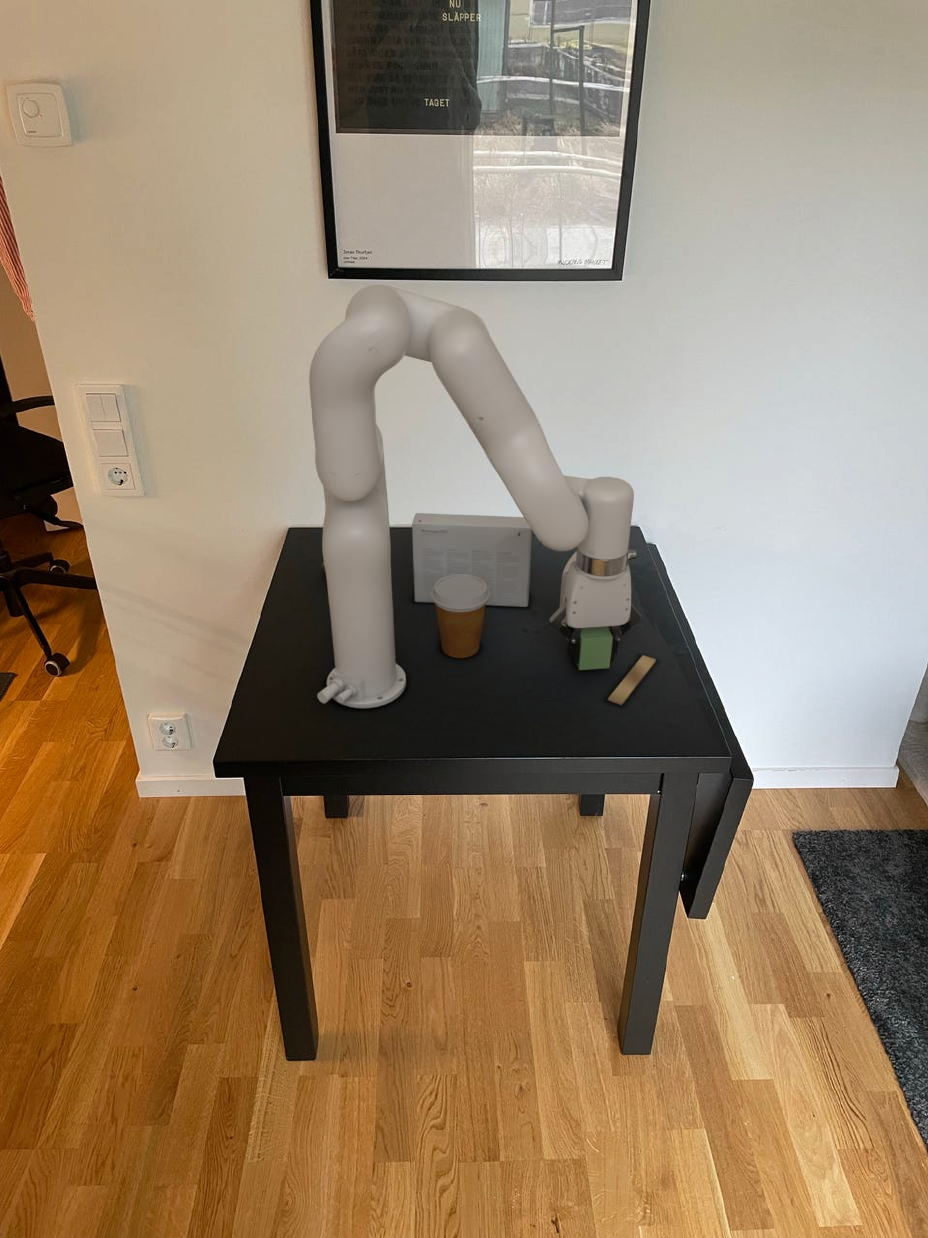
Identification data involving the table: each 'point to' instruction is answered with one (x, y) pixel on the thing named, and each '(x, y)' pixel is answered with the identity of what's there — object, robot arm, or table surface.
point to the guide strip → (632, 680)
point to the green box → (595, 648)
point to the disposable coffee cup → (460, 613)
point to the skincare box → (473, 554)
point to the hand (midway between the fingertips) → (591, 657)
